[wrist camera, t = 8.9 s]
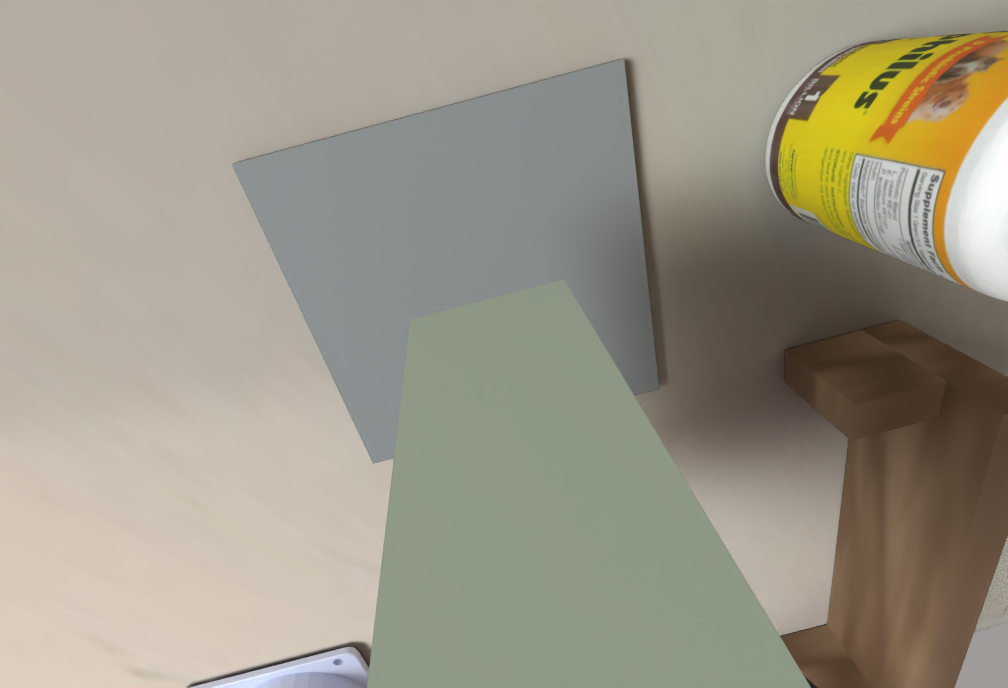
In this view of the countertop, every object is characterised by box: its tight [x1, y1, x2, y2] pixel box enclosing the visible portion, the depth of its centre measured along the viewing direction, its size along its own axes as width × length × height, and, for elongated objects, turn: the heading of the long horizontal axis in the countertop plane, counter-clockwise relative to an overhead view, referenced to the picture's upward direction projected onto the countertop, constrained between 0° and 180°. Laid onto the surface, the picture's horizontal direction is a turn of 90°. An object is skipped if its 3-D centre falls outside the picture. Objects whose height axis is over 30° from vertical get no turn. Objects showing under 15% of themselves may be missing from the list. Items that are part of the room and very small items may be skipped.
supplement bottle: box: [765, 31, 1008, 301], centre depth 13 cm, size 6×6×10 cm
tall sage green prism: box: [367, 280, 811, 688], centre depth 10 cm, size 3×11×9 cm, turn 13°
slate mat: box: [232, 59, 659, 464], centre depth 18 cm, size 12×12×1 cm
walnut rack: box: [780, 320, 1008, 688], centre depth 24 cm, size 5×22×6 cm, turn 14°
